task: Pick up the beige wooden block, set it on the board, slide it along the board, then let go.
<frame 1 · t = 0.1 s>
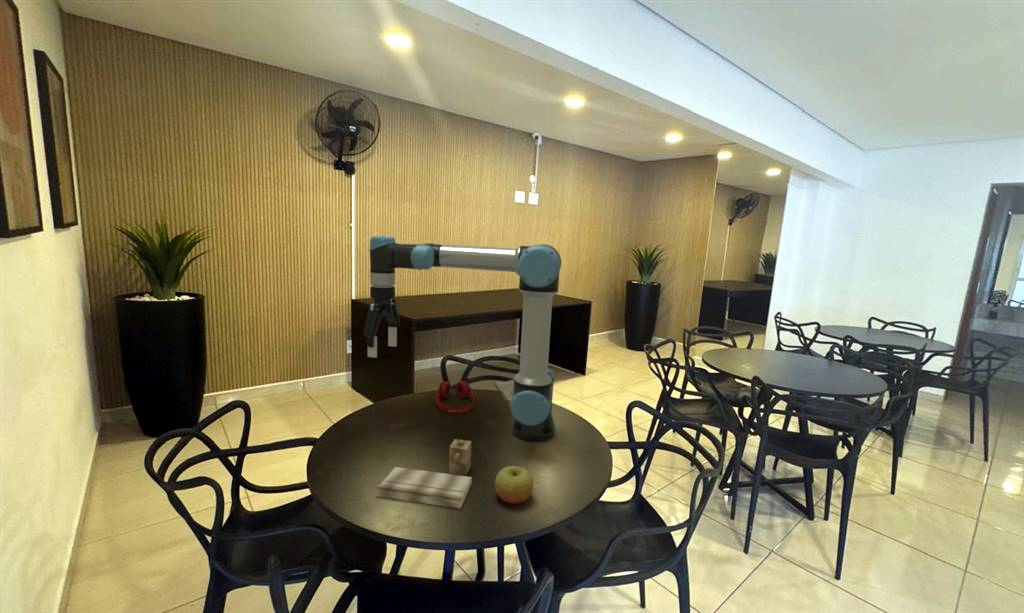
hand: (382, 351, 140), 28 cm above the table, fingers open, 13 cm apart
board: (425, 490, 114), on the table
apple: (513, 498, 113), on the table
beige wooden block: (459, 470, 124), on the table
headphones: (455, 404, 172), on the table
stone slab: (517, 399, 181), on the table
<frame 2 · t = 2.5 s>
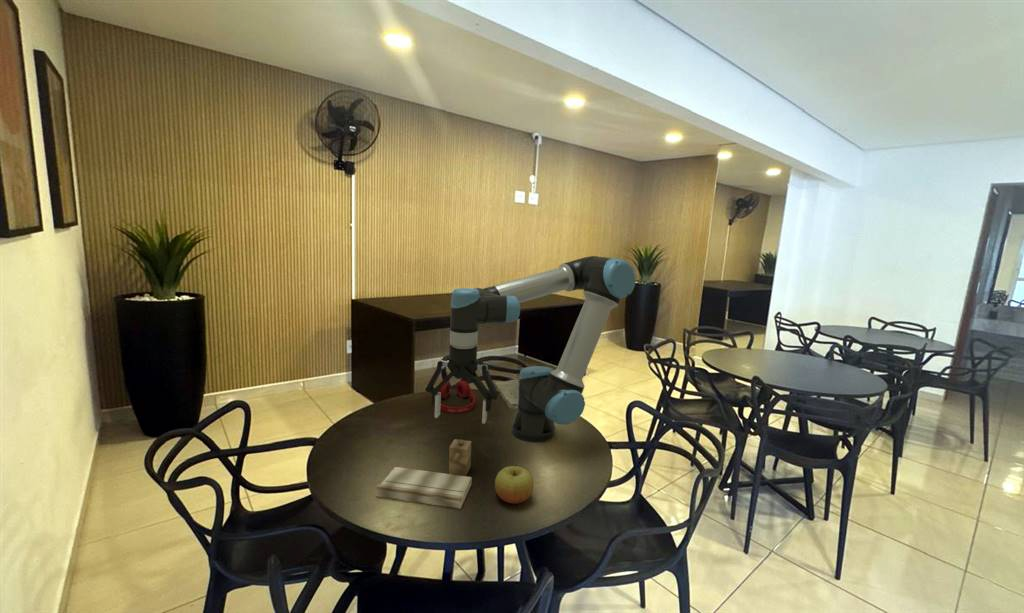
hand: (460, 418, 122), 16 cm above the table, fingers open, 13 cm apart
nothing on the table moved.
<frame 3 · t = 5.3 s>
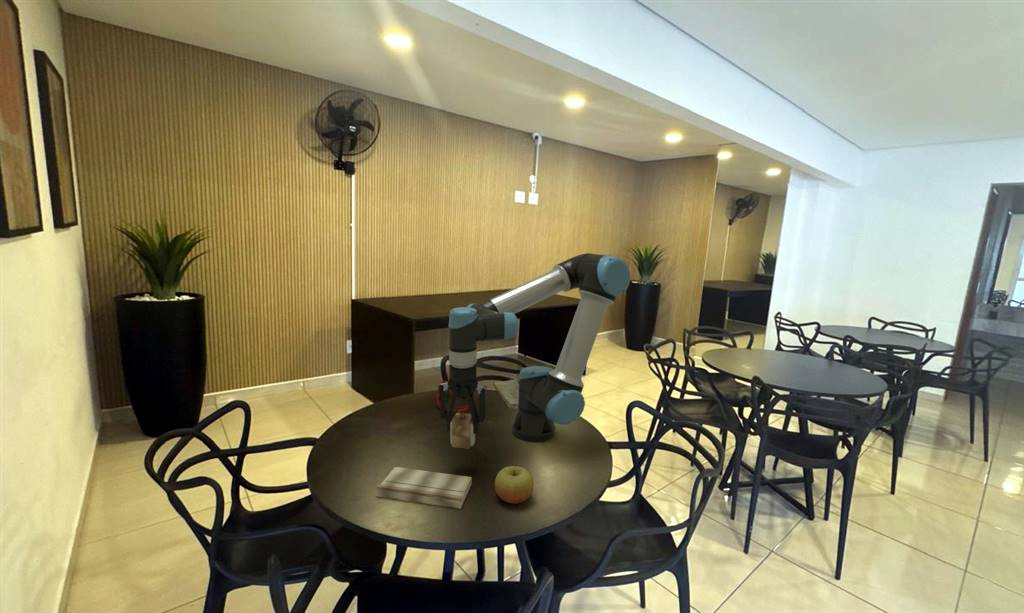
hand: (462, 442, 123), 8 cm above the table, fingers closed on beige wooden block, 5 cm apart
beige wooden block: (462, 443, 123), point 8 cm above the table, touching gripper
everything else where it was.
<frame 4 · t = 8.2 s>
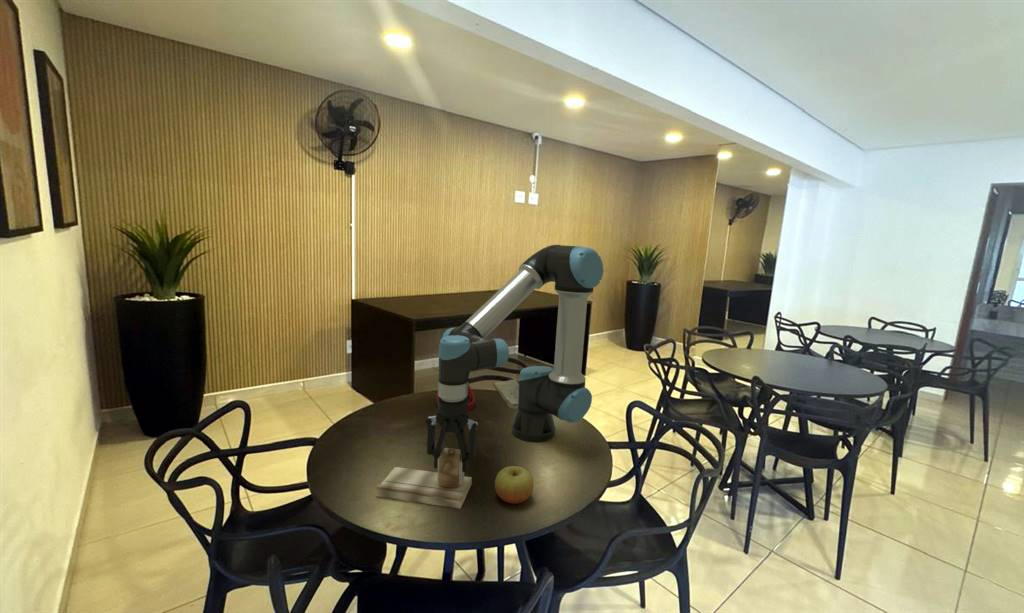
hand: (450, 480, 114), 3 cm above the table, fingers closed on beige wooden block, 5 cm apart
beige wooden block: (450, 481, 114), point 2 cm above the table, touching gripper
everything else where it was.
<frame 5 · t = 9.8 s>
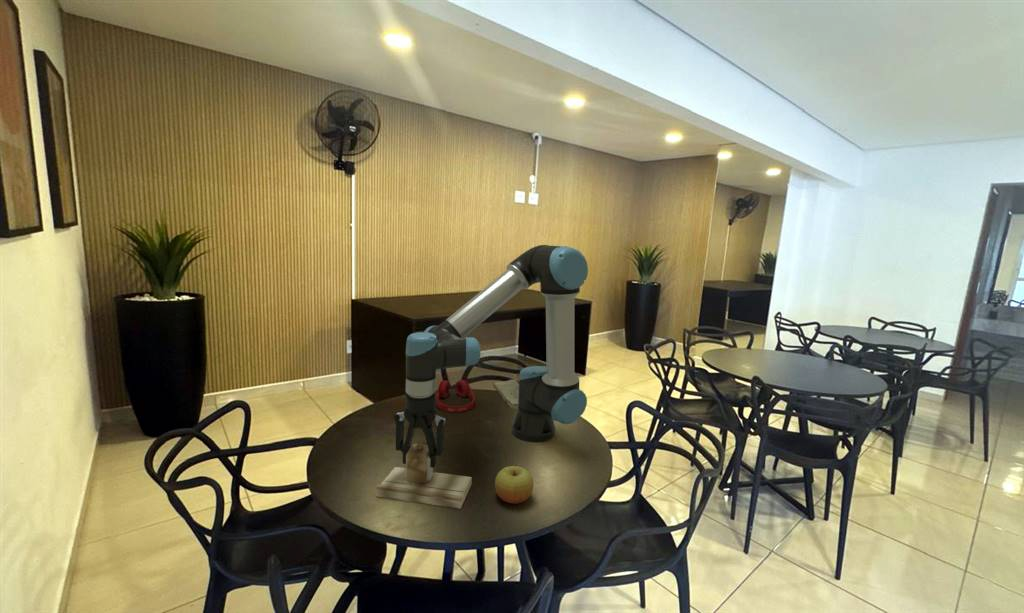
hand: (419, 476, 115), 3 cm above the table, fingers closed on beige wooden block, 5 cm apart
beige wooden block: (419, 477, 115), point 2 cm above the table, touching gripper
when the fingers open (3 cm above the table, at t = 11.3 s): beige wooden block stays where it is, resting on board.
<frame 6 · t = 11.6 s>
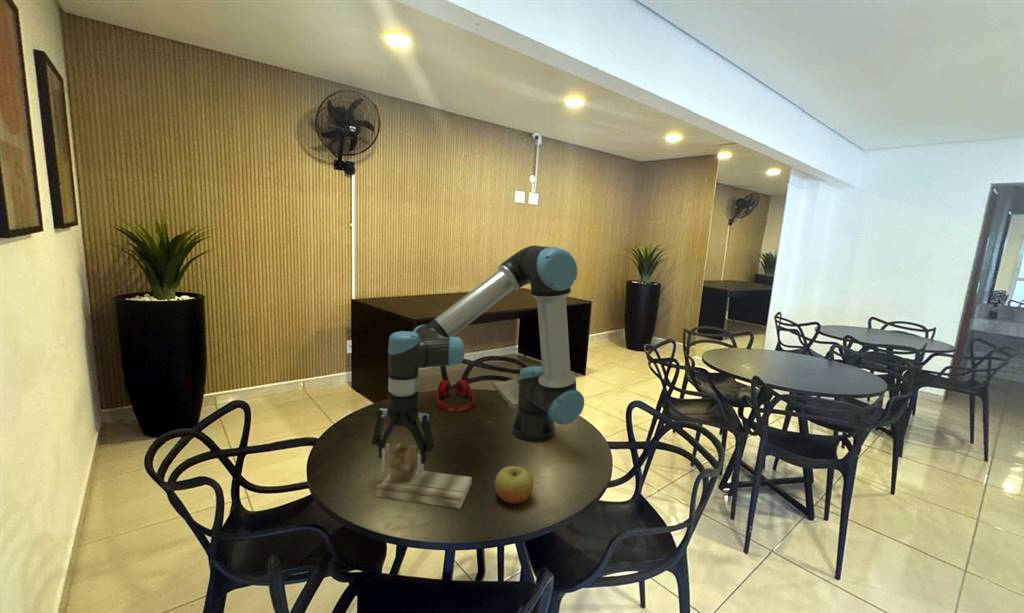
hand: (402, 471, 116), 4 cm above the table, fingers open, 9 cm apart
beige wooden block: (403, 476, 116), point 2 cm above the table, touching board
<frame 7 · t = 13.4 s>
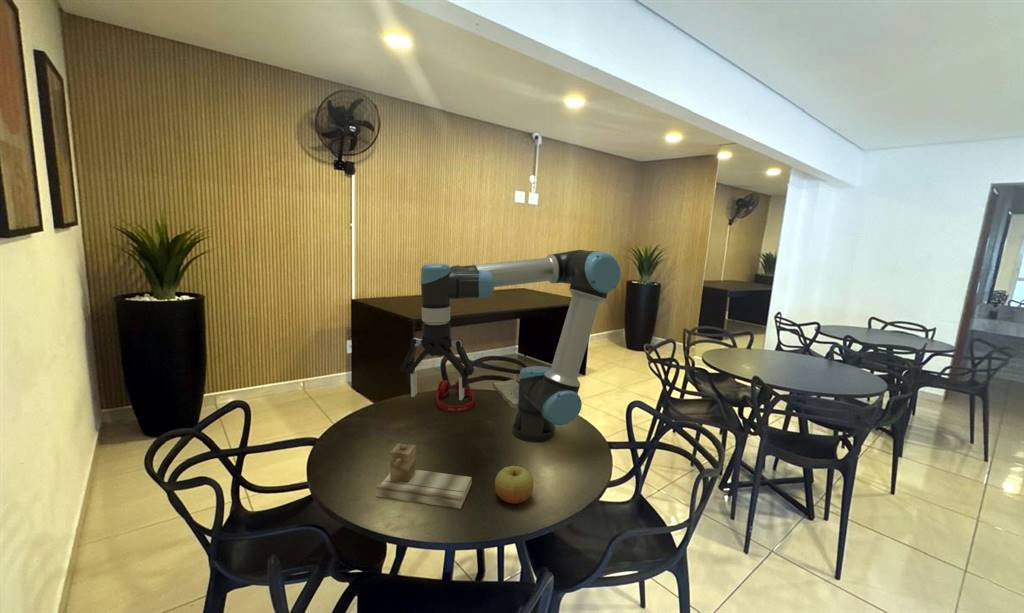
hand: (437, 396, 120), 22 cm above the table, fingers open, 13 cm apart
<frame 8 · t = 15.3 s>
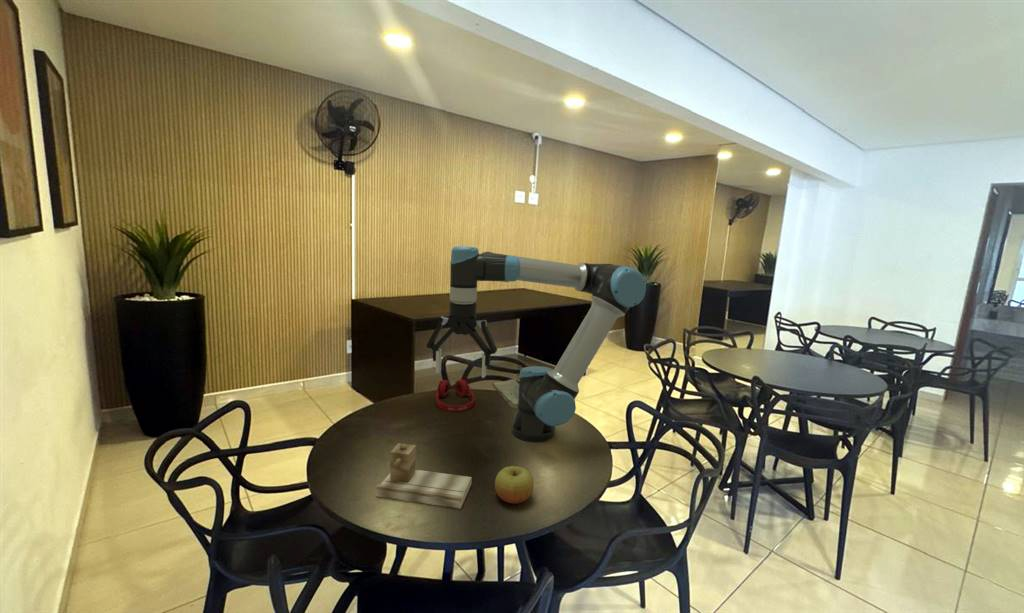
hand: (460, 374, 126), 27 cm above the table, fingers open, 13 cm apart
at the end: beige wooden block inside the target area (0.8 cm from its centre), point 2.0 cm above the table; beige wooden block tilted 0°; the gripper is holding nothing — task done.
